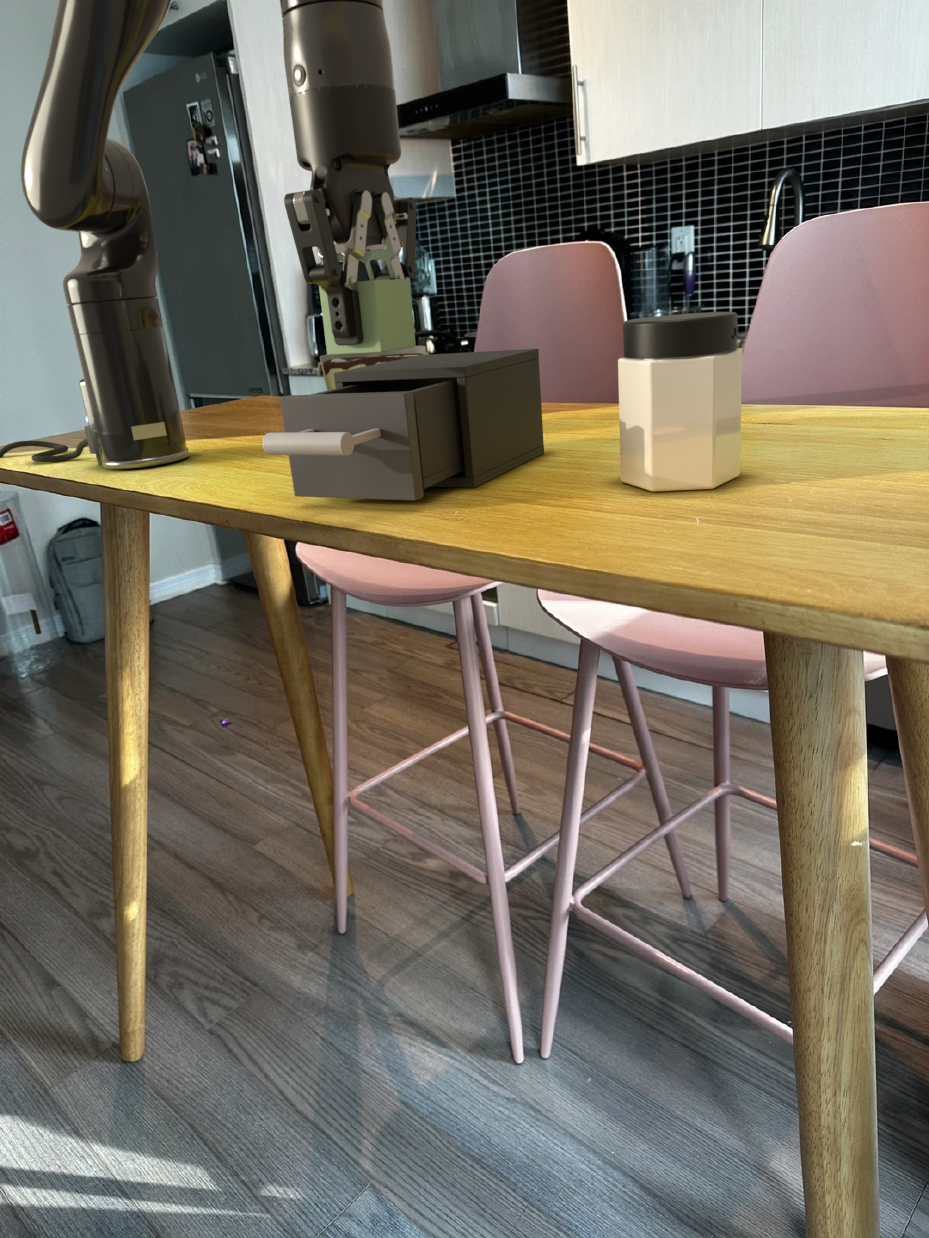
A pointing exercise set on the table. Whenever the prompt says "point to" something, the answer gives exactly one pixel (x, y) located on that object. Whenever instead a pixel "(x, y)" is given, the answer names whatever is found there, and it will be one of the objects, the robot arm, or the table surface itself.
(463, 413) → the grey drawer unit
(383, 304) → the block
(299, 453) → the pulled-out drawer
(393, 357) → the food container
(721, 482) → the jar
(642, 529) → the table surface
